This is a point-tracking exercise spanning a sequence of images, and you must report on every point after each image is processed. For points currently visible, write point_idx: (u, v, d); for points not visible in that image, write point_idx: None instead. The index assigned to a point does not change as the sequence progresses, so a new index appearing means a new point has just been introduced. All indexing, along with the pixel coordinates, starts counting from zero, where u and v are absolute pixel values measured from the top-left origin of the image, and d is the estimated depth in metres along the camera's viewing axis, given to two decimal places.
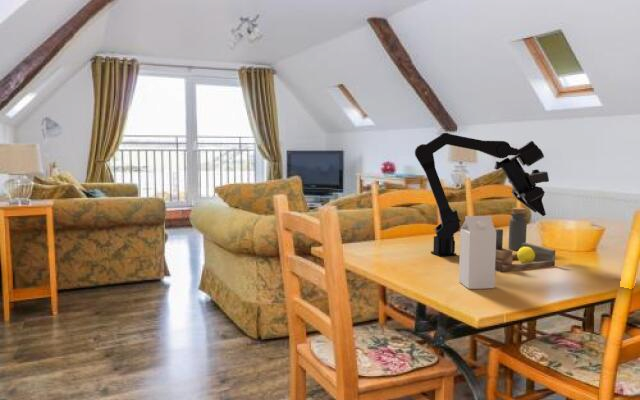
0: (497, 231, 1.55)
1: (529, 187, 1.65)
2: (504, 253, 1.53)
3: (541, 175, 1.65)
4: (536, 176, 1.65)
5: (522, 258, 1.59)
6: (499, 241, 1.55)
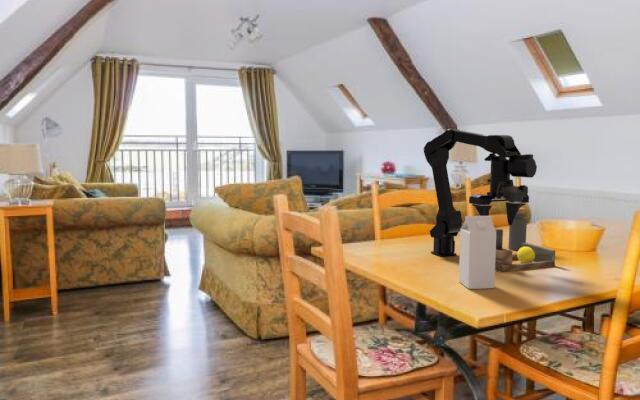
0: (497, 231, 1.55)
1: (494, 194, 1.53)
2: (504, 253, 1.53)
3: (507, 191, 1.49)
4: (504, 189, 1.50)
5: (522, 258, 1.59)
6: (499, 241, 1.55)
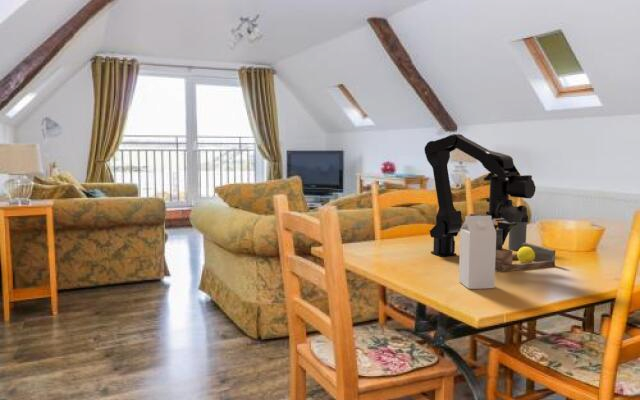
0: (497, 231, 1.55)
1: (493, 214, 1.54)
2: (504, 253, 1.53)
3: (506, 212, 1.49)
4: (502, 210, 1.50)
5: (522, 258, 1.59)
6: (499, 241, 1.55)
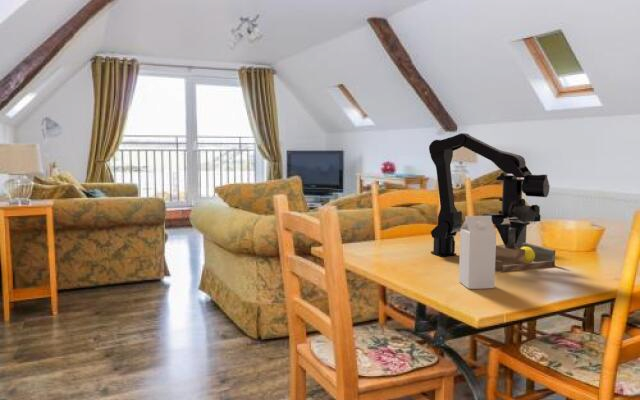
0: (510, 230, 1.57)
1: (506, 213, 1.56)
2: (517, 252, 1.54)
3: (519, 211, 1.51)
4: (516, 209, 1.52)
5: None
6: (511, 240, 1.57)
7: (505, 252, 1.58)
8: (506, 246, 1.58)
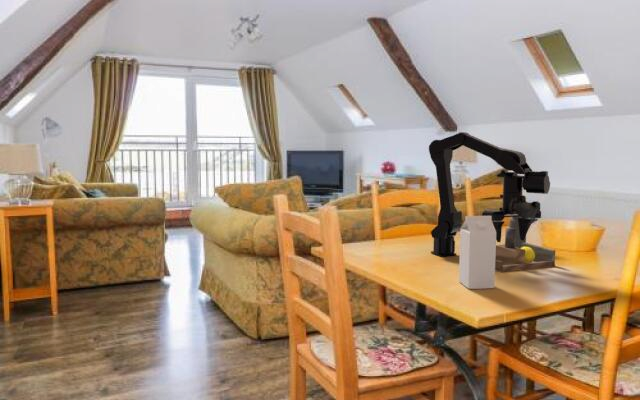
0: (510, 230, 1.57)
1: (507, 210, 1.56)
2: (517, 252, 1.54)
3: (520, 208, 1.51)
4: (516, 205, 1.52)
5: None
6: (511, 240, 1.57)
7: (505, 252, 1.58)
8: (506, 246, 1.58)
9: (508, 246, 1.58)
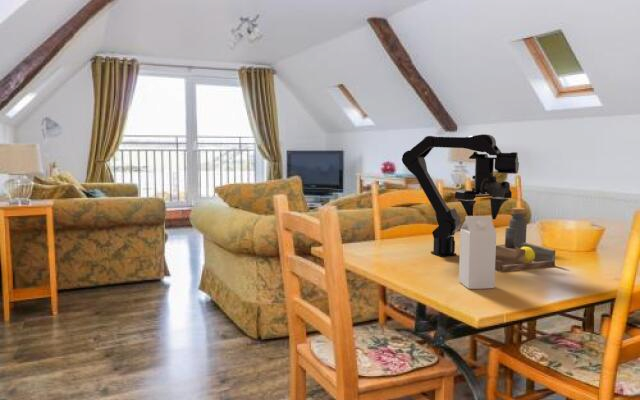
0: (510, 230, 1.57)
1: (478, 190, 1.63)
2: (517, 252, 1.54)
3: (490, 187, 1.58)
4: (487, 185, 1.60)
5: None
6: (511, 240, 1.57)
7: (505, 252, 1.58)
8: (506, 246, 1.58)
9: (508, 246, 1.58)
